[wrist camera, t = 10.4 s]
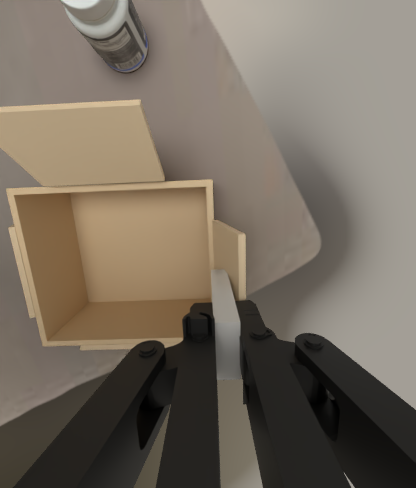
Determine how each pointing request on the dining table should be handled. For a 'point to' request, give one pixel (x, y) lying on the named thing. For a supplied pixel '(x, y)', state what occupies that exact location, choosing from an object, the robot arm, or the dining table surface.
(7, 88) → the dining table surface
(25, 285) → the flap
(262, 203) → the dining table surface
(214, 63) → the dining table surface
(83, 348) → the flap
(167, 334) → the carton
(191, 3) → the dining table surface
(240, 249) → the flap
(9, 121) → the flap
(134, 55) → the pill bottle
